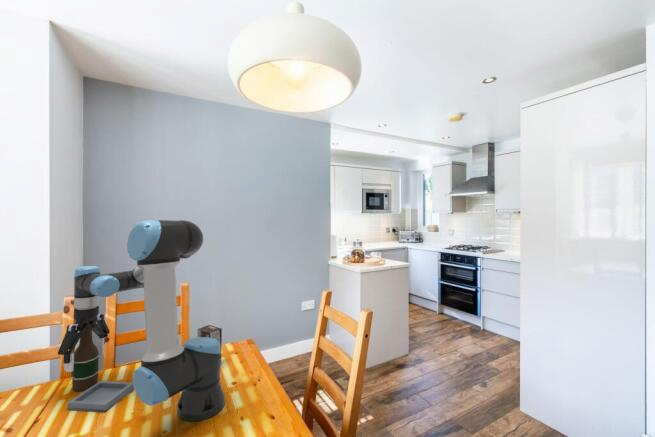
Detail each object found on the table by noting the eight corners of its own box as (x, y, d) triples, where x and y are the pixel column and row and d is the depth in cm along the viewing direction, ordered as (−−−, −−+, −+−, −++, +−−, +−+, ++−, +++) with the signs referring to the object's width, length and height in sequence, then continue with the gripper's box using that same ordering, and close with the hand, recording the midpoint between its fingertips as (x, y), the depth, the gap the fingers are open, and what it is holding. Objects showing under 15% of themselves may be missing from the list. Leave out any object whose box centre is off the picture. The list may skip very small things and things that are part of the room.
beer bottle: (83, 393, 110) (84, 328, 110) (66, 390, 112) (67, 326, 112) (103, 382, 118) (104, 321, 118) (87, 379, 119) (88, 319, 119)
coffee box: (221, 364, 133) (222, 328, 133) (209, 370, 128) (210, 333, 128) (208, 359, 138) (209, 324, 138) (196, 364, 133) (197, 328, 133)
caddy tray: (133, 389, 113) (133, 382, 113) (105, 412, 100) (105, 404, 100) (100, 387, 114) (100, 380, 114) (67, 409, 101) (67, 402, 101)
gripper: (103, 297, 127) (102, 347, 128) (44, 317, 103) (43, 378, 103) (120, 298, 127) (119, 348, 127) (65, 318, 102) (63, 380, 102)
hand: (85, 362), depth 115 cm, fingers open, 13 cm apart
